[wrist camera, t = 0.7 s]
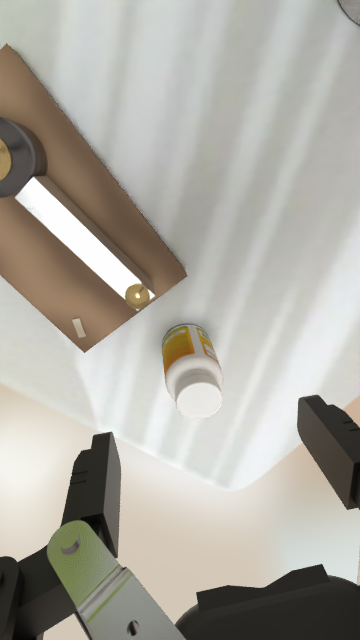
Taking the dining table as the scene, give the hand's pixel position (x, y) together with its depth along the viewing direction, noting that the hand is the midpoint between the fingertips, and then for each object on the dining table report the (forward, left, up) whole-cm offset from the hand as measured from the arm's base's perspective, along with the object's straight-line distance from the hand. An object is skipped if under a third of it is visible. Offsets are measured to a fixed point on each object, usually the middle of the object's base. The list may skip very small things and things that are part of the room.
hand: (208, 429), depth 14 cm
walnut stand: (+5, -10, -21) cm, 24 cm away
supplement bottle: (+3, +7, -21) cm, 22 cm away
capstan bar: (+3, -10, -19) cm, 21 cm away
